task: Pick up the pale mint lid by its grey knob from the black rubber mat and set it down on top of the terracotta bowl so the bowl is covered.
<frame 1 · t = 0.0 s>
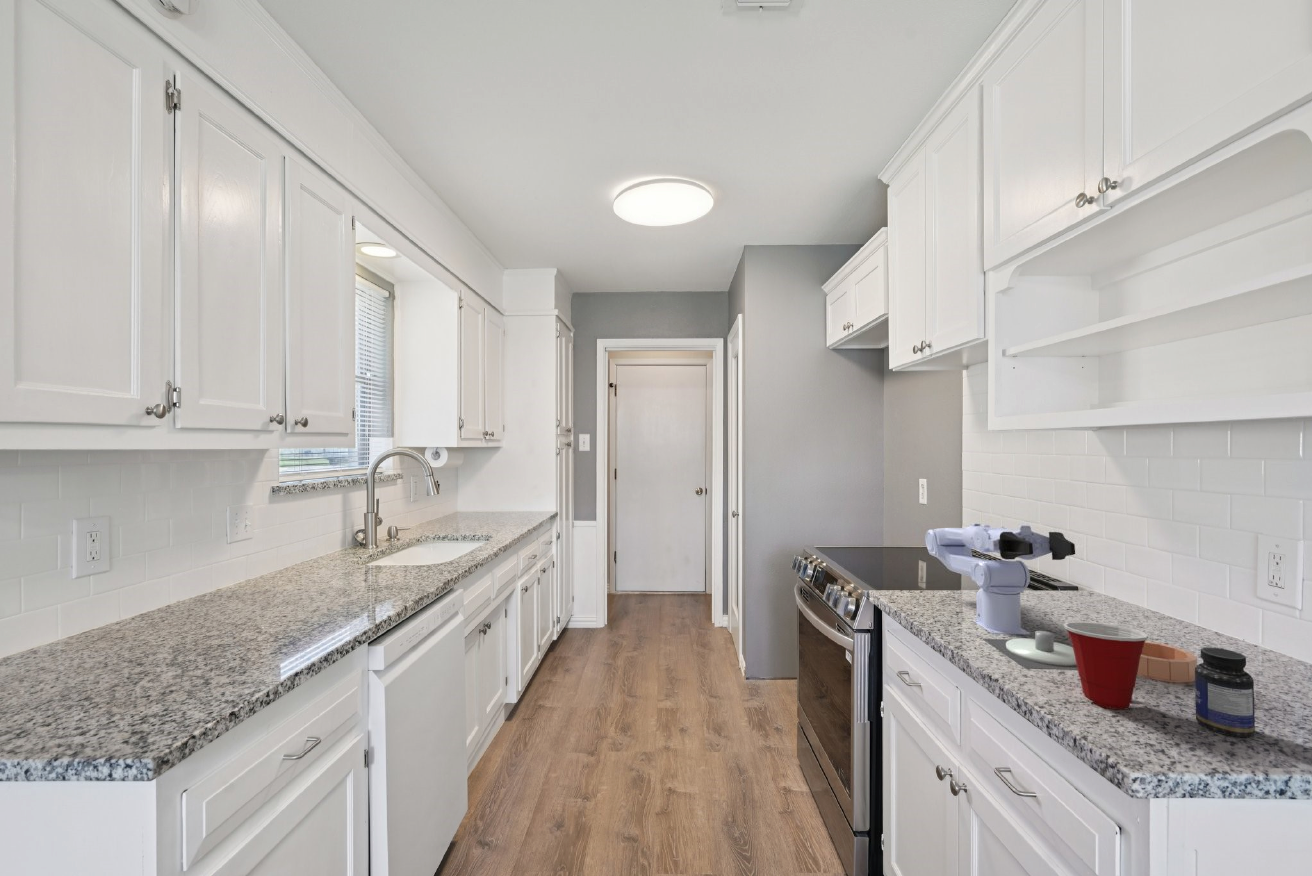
hand: (1052, 548, 108), 22 cm above the countertop, tool horizontal, fingers open, 7 cm apart
mat: (1044, 656, 111), on the countertop
pill bottle: (1224, 729, 82), on the countertop
plastic cup: (1106, 702, 91), on the countertop
bowl: (1154, 672, 102), on the countertop
lid: (1044, 653, 111), resting on mat
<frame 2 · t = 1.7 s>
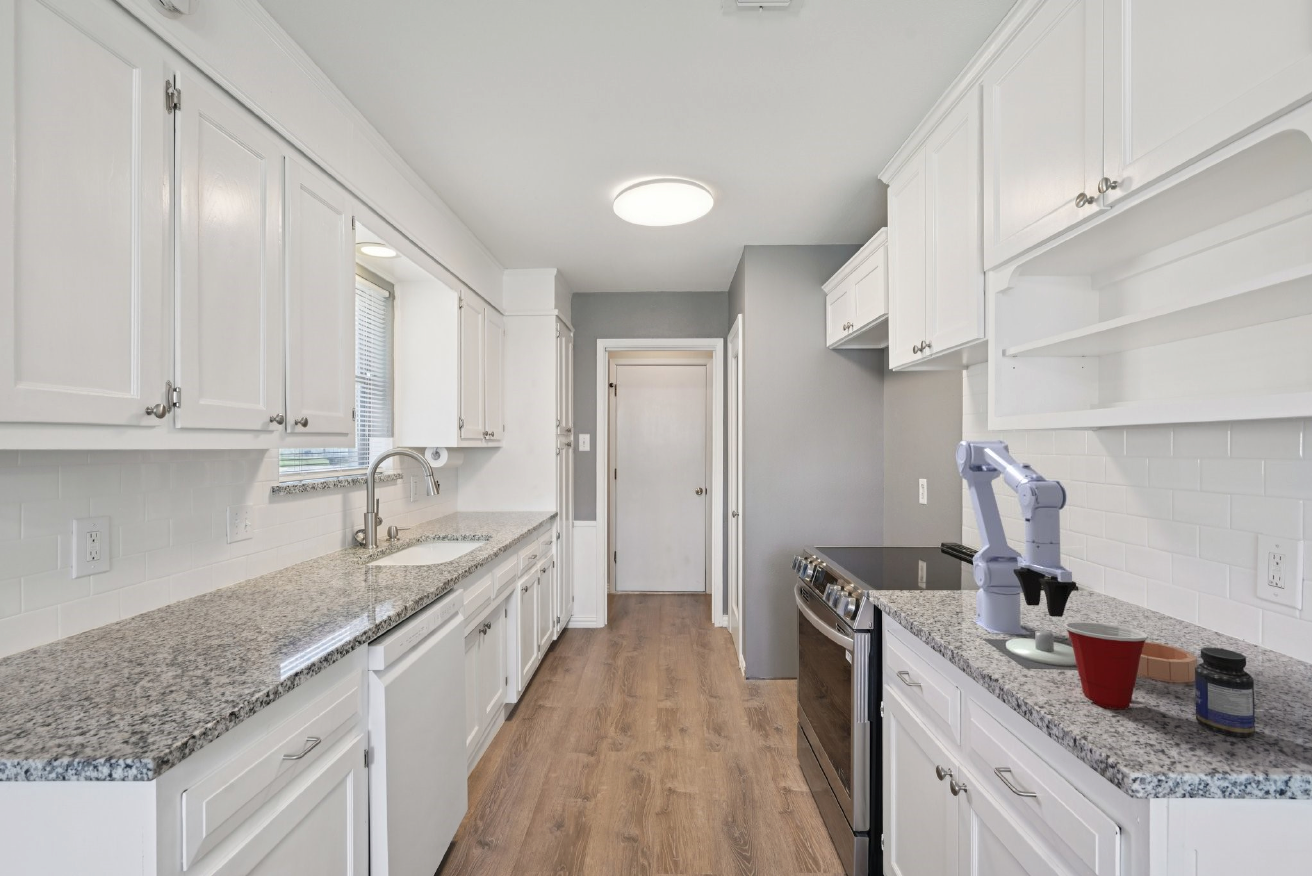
hand: (1043, 610, 111), 9 cm above the countertop, tool pointing down, fingers open, 7 cm apart
nothing on the countertop moved.
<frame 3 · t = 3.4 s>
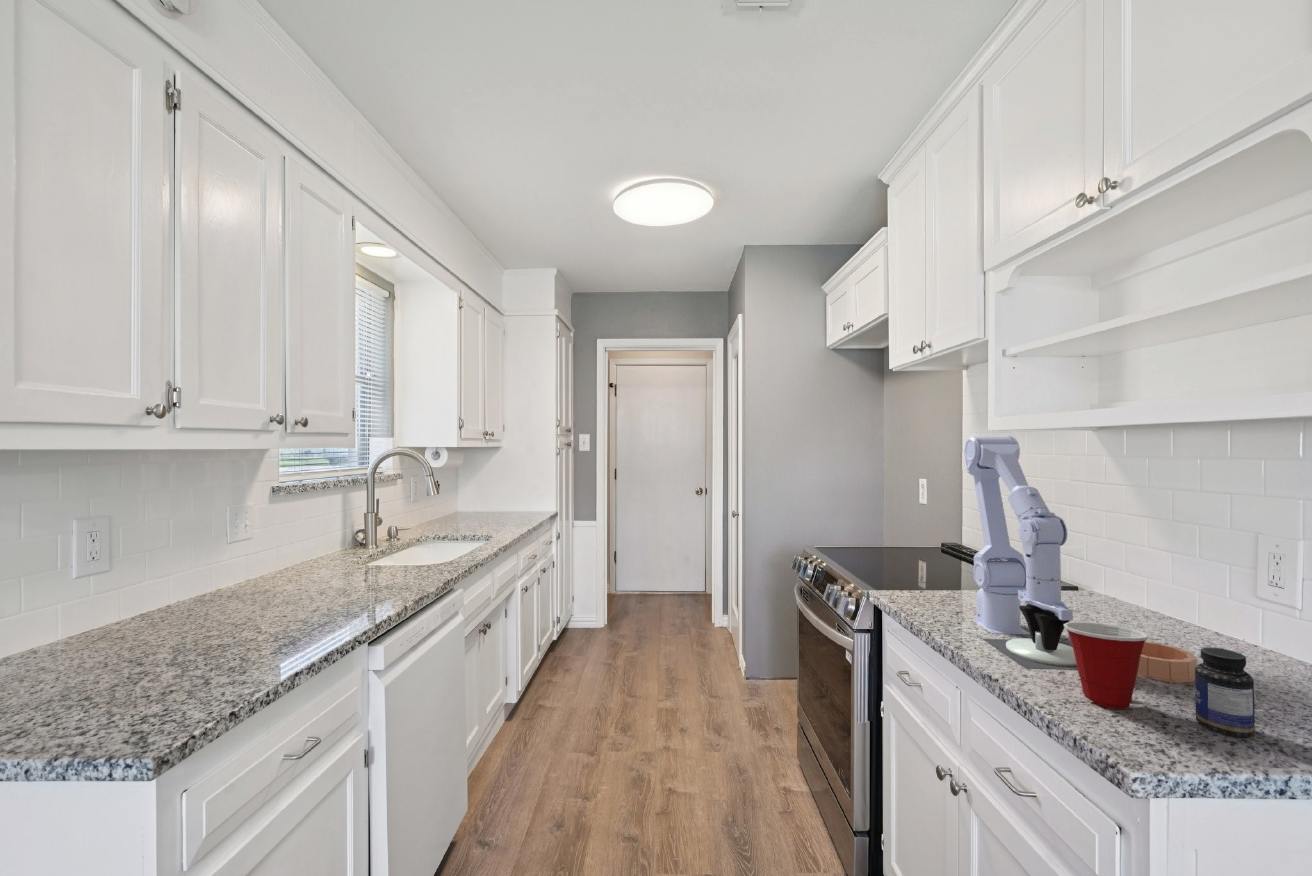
hand: (1044, 646, 111), 2 cm above the countertop, tool pointing down, fingers closed on lid, 3 cm apart
lid: (1044, 653, 111), resting on mat, touching gripper
everything else where it was.
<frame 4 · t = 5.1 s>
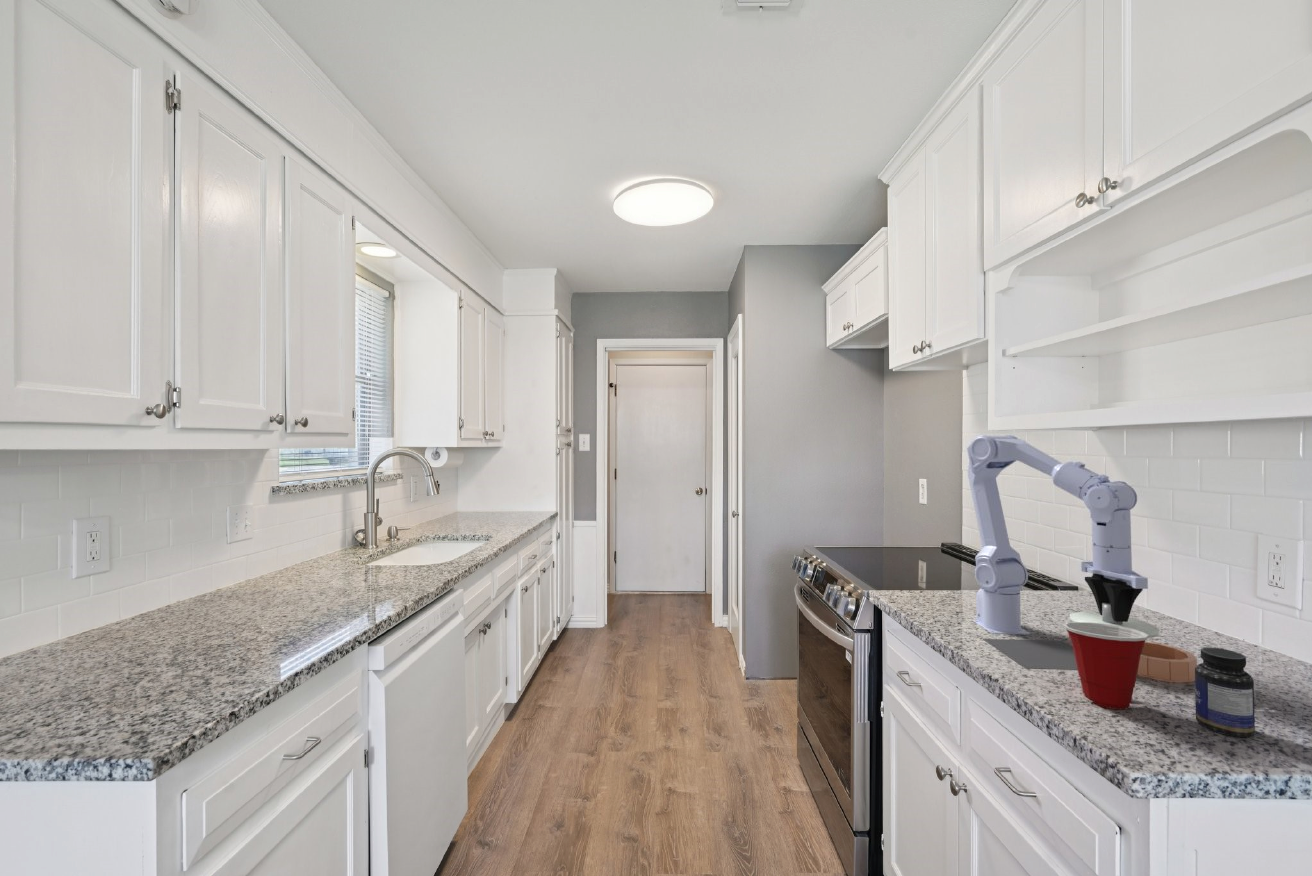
hand: (1113, 618, 105), 9 cm above the countertop, tool pointing down, fingers closed on lid, 3 cm apart
lid: (1112, 626, 105), point 8 cm above the countertop, touching gripper
everything else where it was.
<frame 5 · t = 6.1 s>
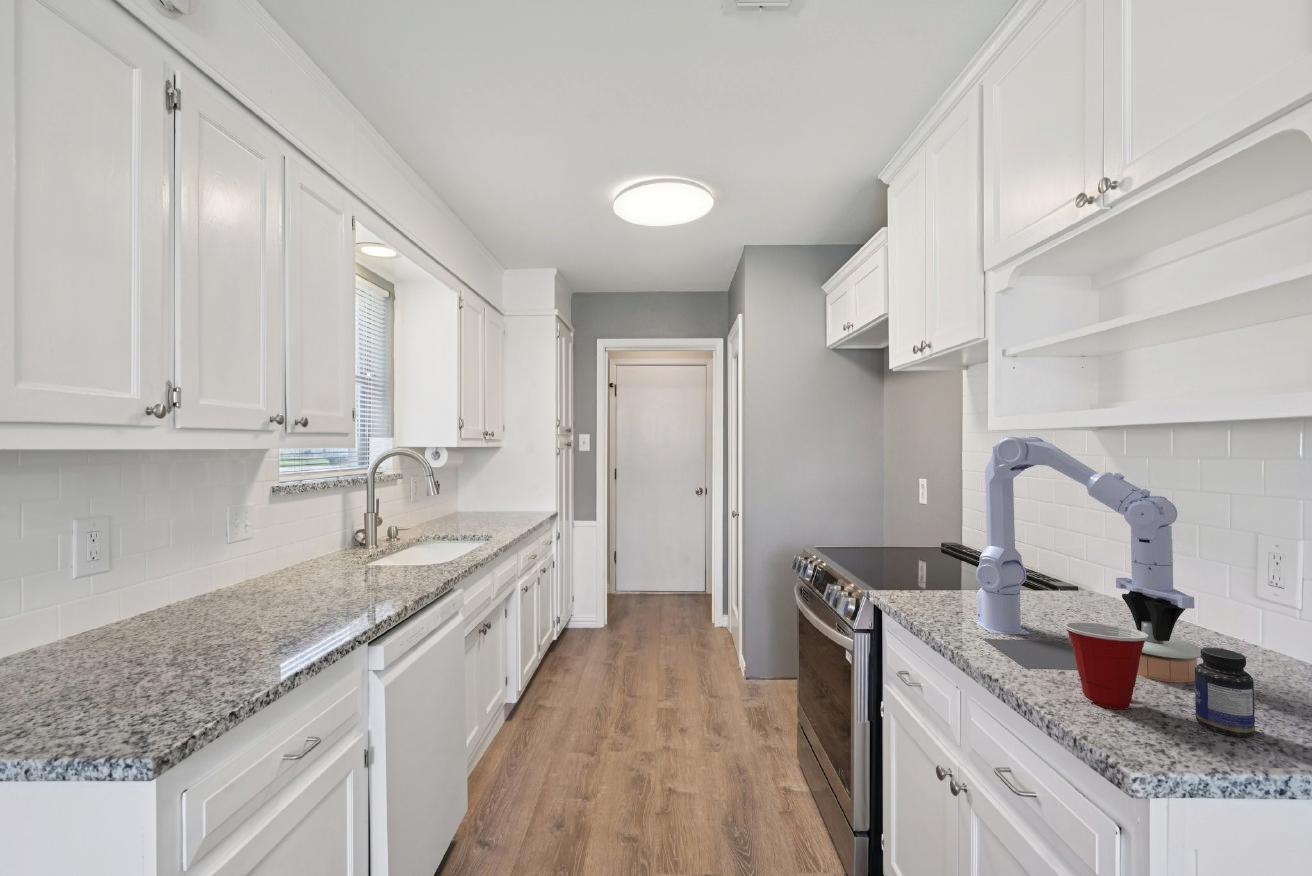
hand: (1153, 637, 103), 6 cm above the countertop, tool pointing down, fingers closed on lid, 3 cm apart
lid: (1152, 645, 103), point 5 cm above the countertop, touching gripper
everything else where it was.
when the fingers open (6 cm above the countertop, at t = 6.7 s): lid stays where it is, resting on bowl.
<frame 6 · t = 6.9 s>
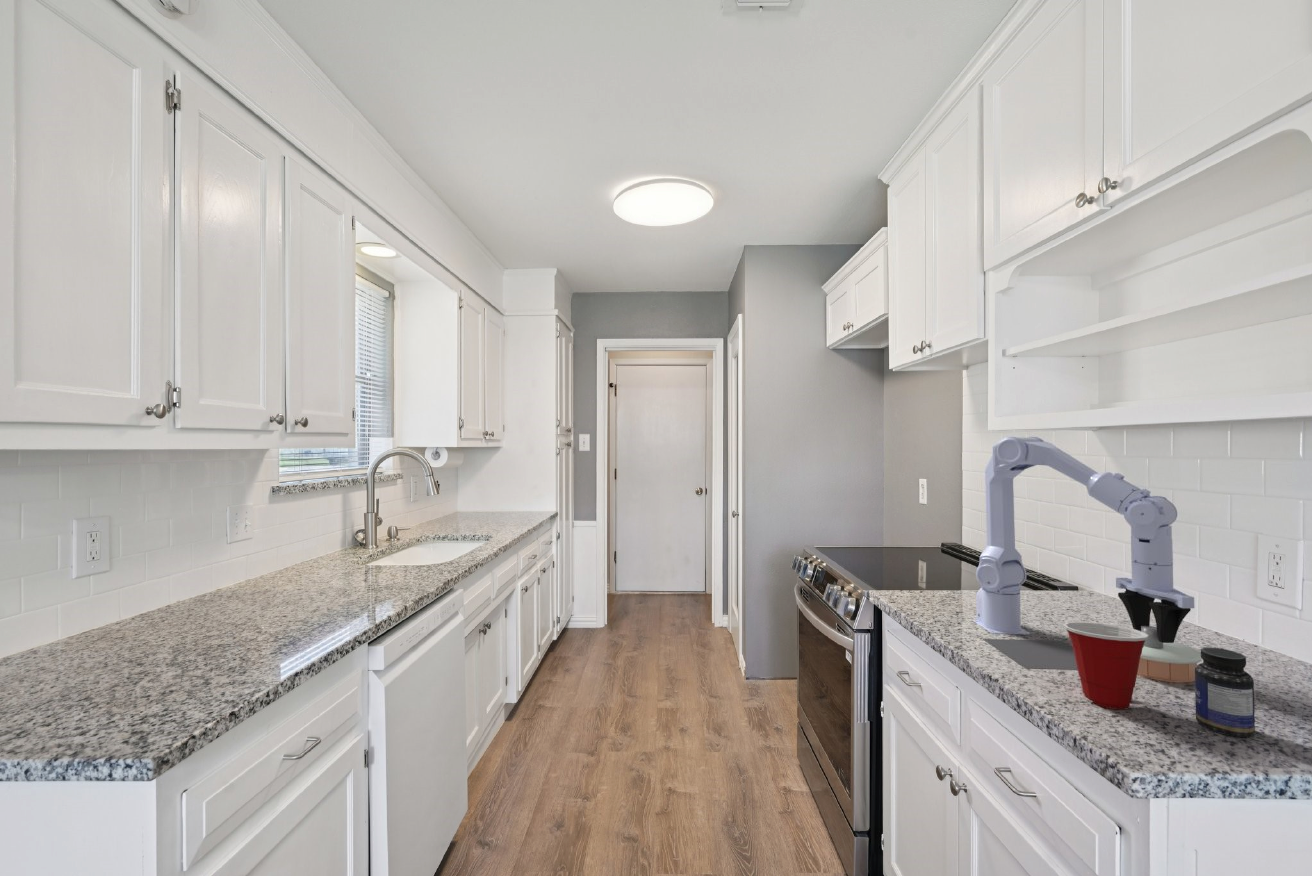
hand: (1153, 637, 103), 6 cm above the countertop, tool pointing down, fingers open, 5 cm apart
lid: (1152, 650, 103), point 4 cm above the countertop, touching bowl
everything else where it was.
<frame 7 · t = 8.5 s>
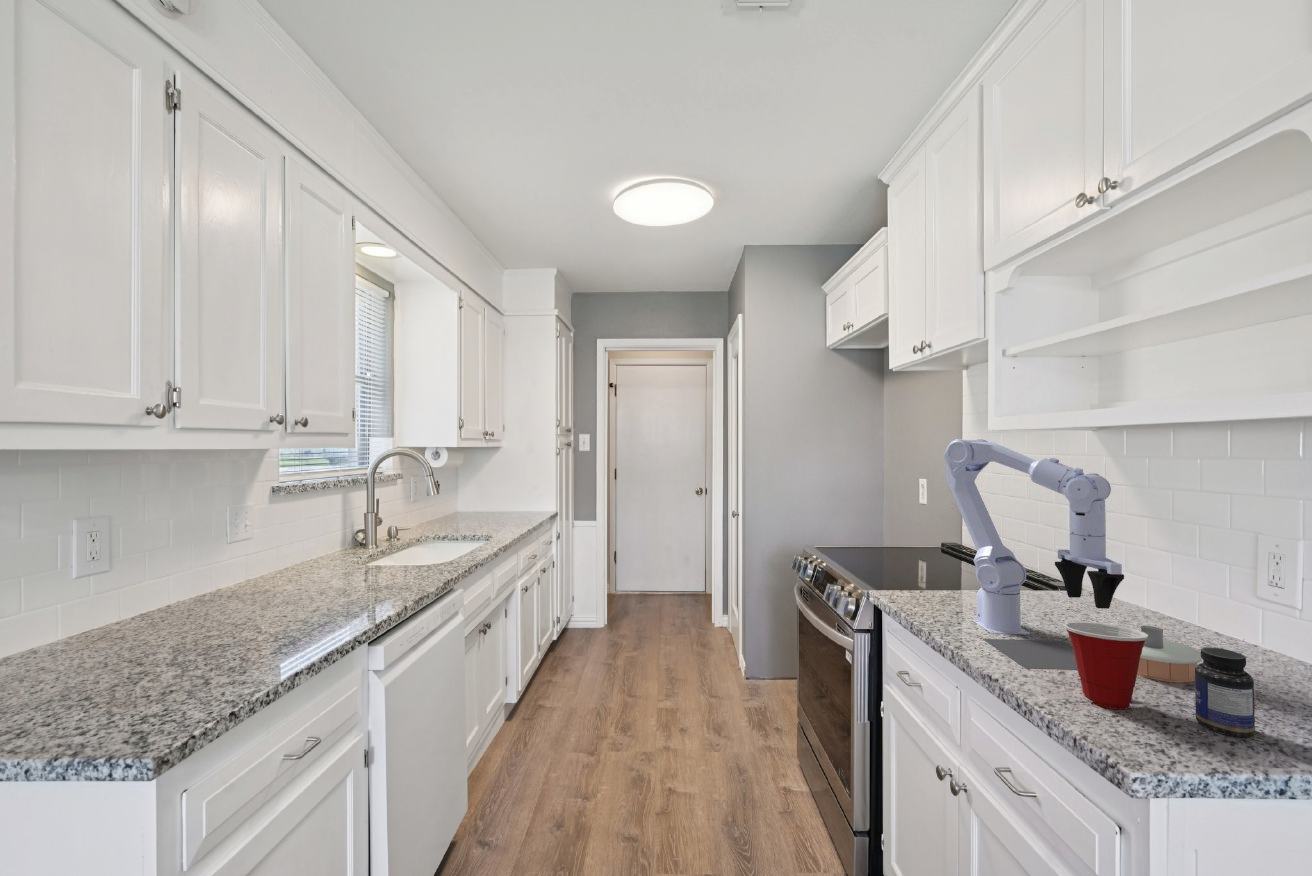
hand: (1087, 602, 112), 10 cm above the countertop, tool pointing down, fingers open, 7 cm apart
nothing on the countertop moved.
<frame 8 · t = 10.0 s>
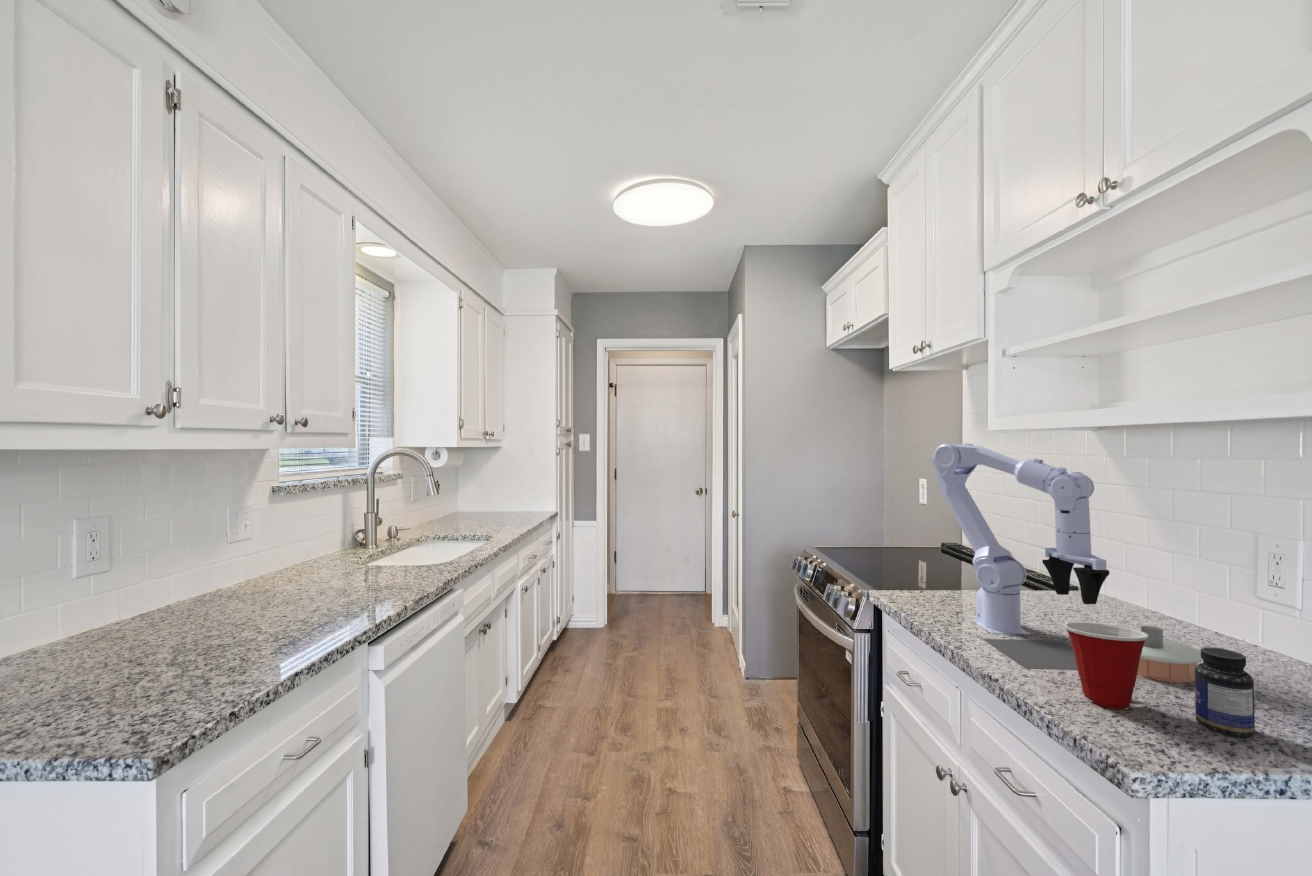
hand: (1075, 599, 114), 10 cm above the countertop, tool pointing down, fingers open, 7 cm apart
nothing on the countertop moved.
at the end: lid 0.2 cm off-centre on the bowl, point 4.0 cm above the bowl's base; lid tilted 0°; the gripper is holding nothing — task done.
